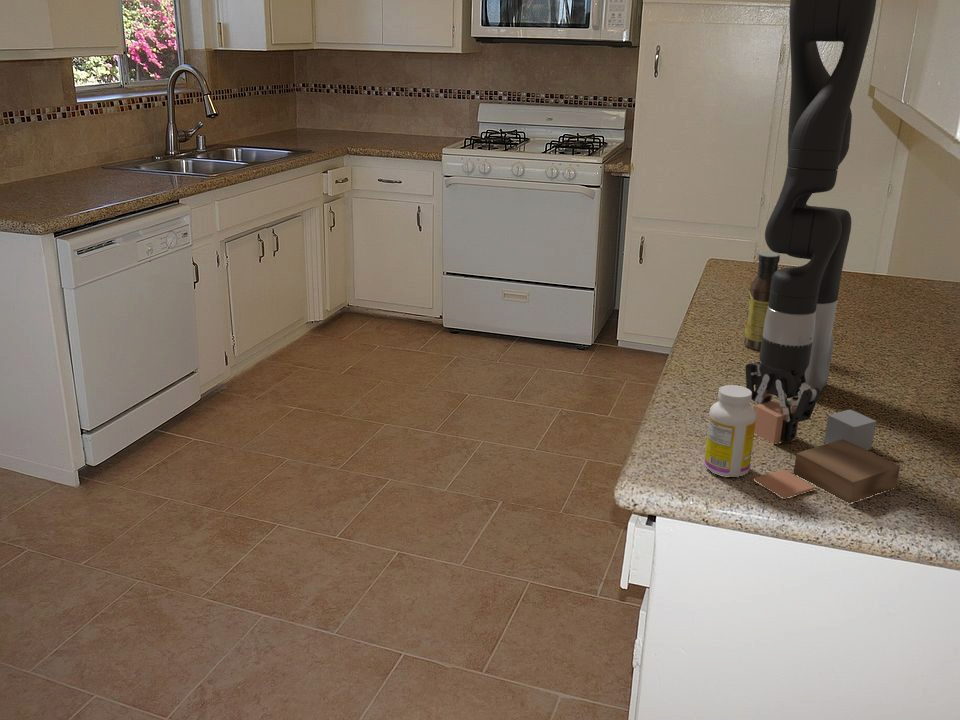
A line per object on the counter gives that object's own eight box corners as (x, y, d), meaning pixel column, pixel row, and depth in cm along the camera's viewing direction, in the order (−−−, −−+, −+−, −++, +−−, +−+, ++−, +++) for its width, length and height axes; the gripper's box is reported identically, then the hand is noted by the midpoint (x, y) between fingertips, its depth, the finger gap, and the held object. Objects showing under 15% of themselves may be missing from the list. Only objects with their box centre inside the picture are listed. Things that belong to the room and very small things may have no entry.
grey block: (845, 437, 142) (850, 409, 141) (870, 449, 138) (876, 421, 137) (823, 443, 140) (828, 415, 138) (848, 456, 136) (854, 427, 134)
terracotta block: (773, 427, 146) (777, 399, 144) (796, 439, 141) (800, 411, 140) (750, 433, 143) (754, 405, 142) (773, 445, 139) (777, 416, 137)
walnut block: (838, 462, 135) (842, 439, 133) (895, 490, 127) (900, 466, 125) (792, 477, 130) (796, 453, 129) (848, 507, 122) (853, 482, 121)
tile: (783, 472, 131) (783, 469, 130) (814, 490, 126) (815, 486, 125) (753, 481, 128) (753, 477, 128) (784, 500, 123) (784, 496, 123)
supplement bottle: (741, 458, 135) (751, 382, 130) (755, 479, 129) (766, 399, 124) (698, 459, 135) (706, 382, 130) (710, 480, 128) (719, 400, 124)
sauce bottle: (754, 339, 186) (766, 248, 179) (780, 347, 182) (793, 254, 175) (736, 345, 183) (748, 252, 175) (762, 353, 178) (775, 258, 171)
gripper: (841, 346, 132) (824, 447, 138) (771, 319, 144) (758, 413, 150) (805, 353, 129) (789, 456, 135) (737, 325, 140) (725, 421, 147)
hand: (773, 433), depth 142 cm, fingers closed on terracotta block, 5 cm apart
